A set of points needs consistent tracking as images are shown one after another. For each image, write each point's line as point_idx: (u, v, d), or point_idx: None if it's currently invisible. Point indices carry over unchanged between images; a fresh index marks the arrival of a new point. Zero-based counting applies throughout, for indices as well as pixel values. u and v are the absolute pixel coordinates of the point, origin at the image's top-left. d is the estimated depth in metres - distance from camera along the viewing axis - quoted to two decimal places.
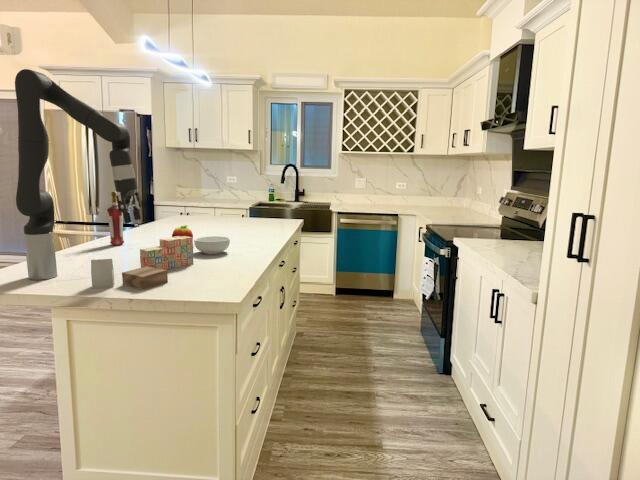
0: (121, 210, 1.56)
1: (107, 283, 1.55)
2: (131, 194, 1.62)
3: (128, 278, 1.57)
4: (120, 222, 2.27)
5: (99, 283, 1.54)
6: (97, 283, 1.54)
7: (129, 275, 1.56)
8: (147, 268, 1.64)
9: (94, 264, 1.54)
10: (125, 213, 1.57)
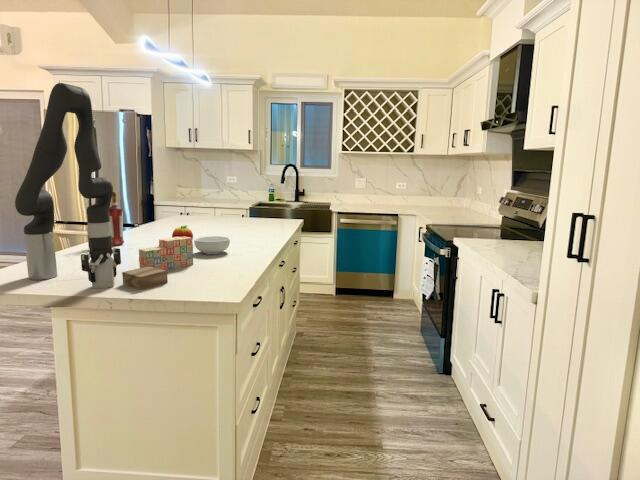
0: (83, 270, 1.50)
1: (107, 283, 1.55)
2: (104, 252, 1.54)
3: (127, 277, 1.57)
4: (120, 222, 2.27)
5: (99, 283, 1.54)
6: (97, 283, 1.54)
7: (128, 275, 1.56)
8: (148, 268, 1.64)
9: None
10: (89, 272, 1.51)
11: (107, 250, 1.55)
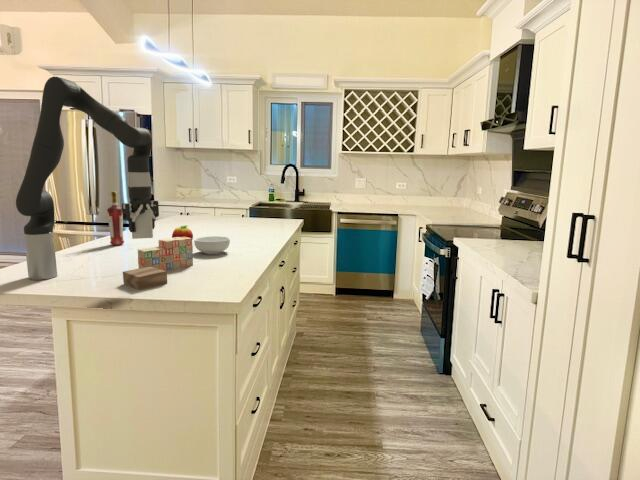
0: (124, 219, 1.51)
1: (147, 234, 1.56)
2: (144, 202, 1.55)
3: (127, 277, 1.57)
4: (120, 222, 2.27)
5: (139, 233, 1.55)
6: (137, 233, 1.55)
7: (128, 274, 1.57)
8: (149, 268, 1.64)
9: None
10: (129, 222, 1.52)
11: (146, 201, 1.56)
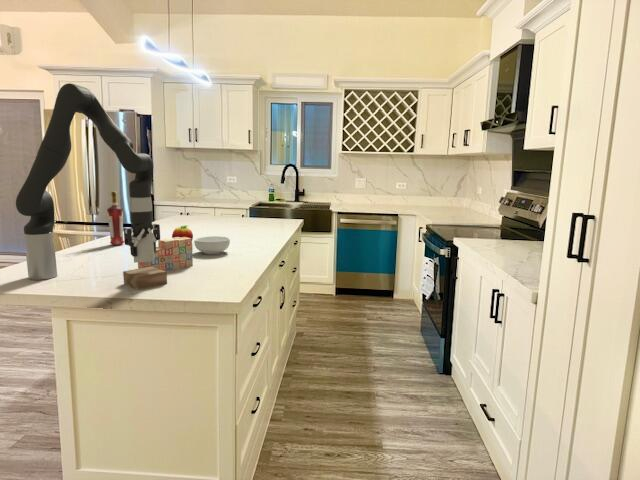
0: (126, 243, 1.52)
1: (148, 257, 1.58)
2: (145, 226, 1.57)
3: (127, 277, 1.58)
4: (120, 222, 2.27)
5: (141, 257, 1.57)
6: (139, 257, 1.57)
7: (128, 274, 1.57)
8: (150, 268, 1.64)
9: None
10: (131, 246, 1.54)
11: (148, 225, 1.58)
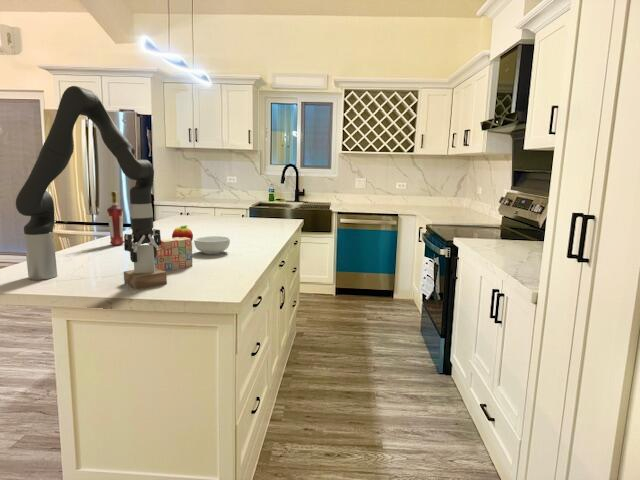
0: (126, 249, 1.52)
1: (149, 268, 1.59)
2: (146, 233, 1.57)
3: (127, 277, 1.58)
4: (120, 222, 2.27)
5: (141, 268, 1.58)
6: (139, 268, 1.57)
7: (128, 274, 1.57)
8: None
9: None
10: (131, 252, 1.54)
11: (148, 231, 1.58)
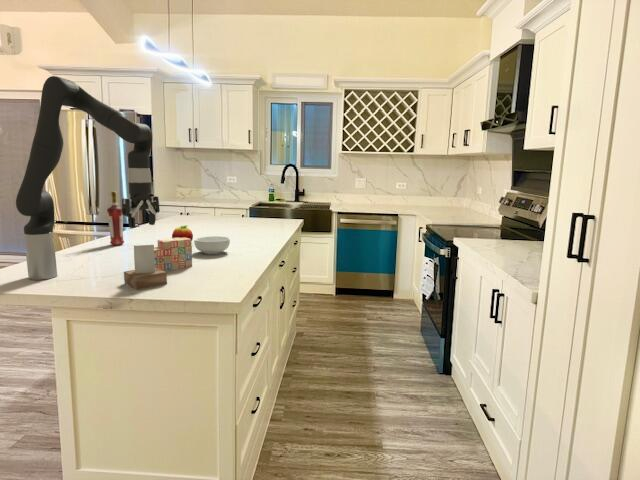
0: (124, 214, 1.50)
1: (149, 268, 1.59)
2: (144, 198, 1.55)
3: (127, 277, 1.58)
4: (120, 222, 2.27)
5: (142, 268, 1.58)
6: (140, 268, 1.57)
7: (128, 275, 1.57)
8: None
9: (137, 250, 1.57)
10: (129, 217, 1.51)
11: (147, 197, 1.56)
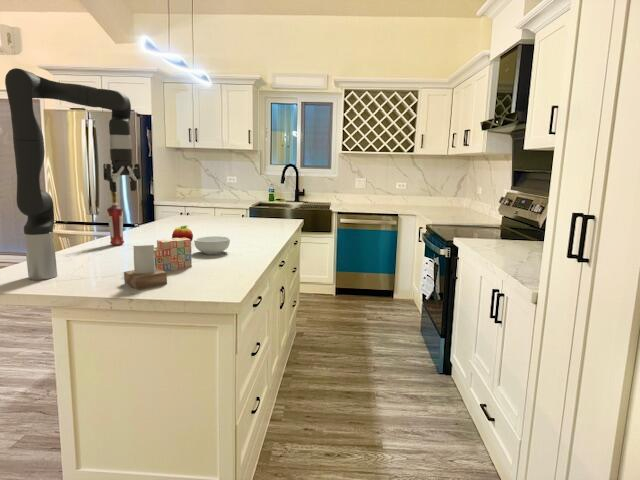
0: (105, 178, 1.58)
1: (149, 269, 1.58)
2: (125, 164, 1.63)
3: (127, 277, 1.58)
4: (120, 222, 2.27)
5: (141, 269, 1.57)
6: (140, 269, 1.57)
7: (128, 275, 1.57)
8: None
9: (137, 250, 1.57)
10: (110, 182, 1.59)
11: (127, 163, 1.64)
